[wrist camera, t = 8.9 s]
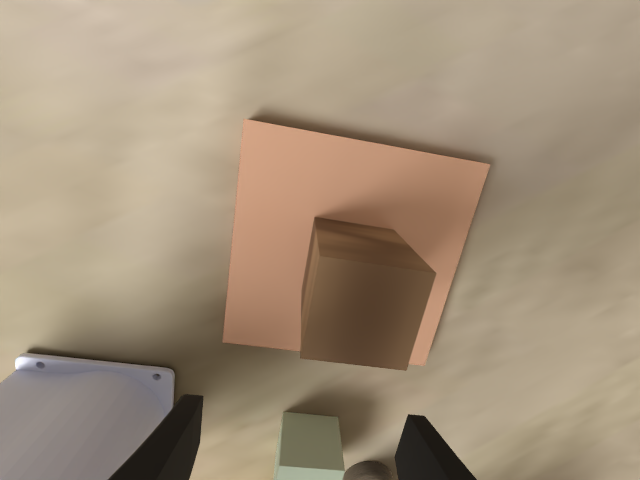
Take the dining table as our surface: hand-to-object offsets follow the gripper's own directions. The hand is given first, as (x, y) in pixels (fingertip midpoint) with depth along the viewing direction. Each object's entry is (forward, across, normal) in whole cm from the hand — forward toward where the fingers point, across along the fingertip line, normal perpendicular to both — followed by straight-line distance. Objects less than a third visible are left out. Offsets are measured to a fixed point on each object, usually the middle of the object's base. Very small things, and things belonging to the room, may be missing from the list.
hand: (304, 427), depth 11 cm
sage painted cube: (+10, -2, +11) cm, 15 cm away
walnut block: (+8, -2, -3) cm, 9 cm away
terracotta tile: (+9, -2, -3) cm, 10 cm away
